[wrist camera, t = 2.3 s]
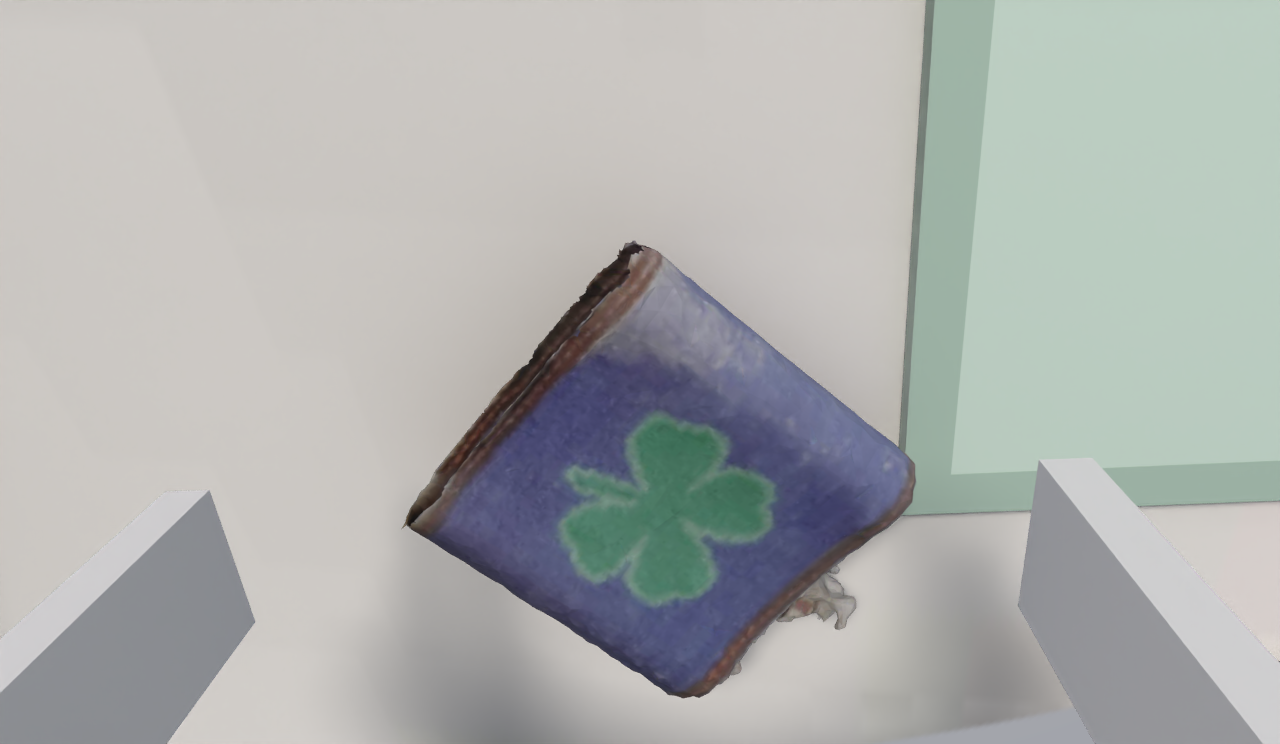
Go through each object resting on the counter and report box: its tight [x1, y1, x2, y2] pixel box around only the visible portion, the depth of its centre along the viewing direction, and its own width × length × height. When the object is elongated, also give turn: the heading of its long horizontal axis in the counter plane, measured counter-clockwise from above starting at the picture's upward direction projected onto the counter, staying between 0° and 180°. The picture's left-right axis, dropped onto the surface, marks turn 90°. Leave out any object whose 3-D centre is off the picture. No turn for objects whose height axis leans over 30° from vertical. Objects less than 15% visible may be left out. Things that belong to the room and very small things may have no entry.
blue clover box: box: [402, 241, 916, 698], centre depth 20 cm, size 9×3×11 cm
